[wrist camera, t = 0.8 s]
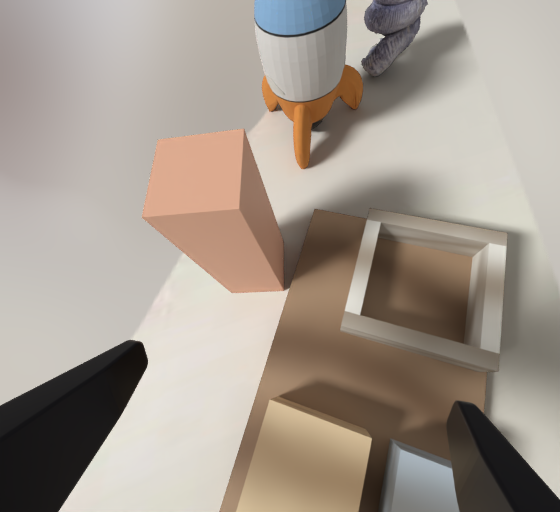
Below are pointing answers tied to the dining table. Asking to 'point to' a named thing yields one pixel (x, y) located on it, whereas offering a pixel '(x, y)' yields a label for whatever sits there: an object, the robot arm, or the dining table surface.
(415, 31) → the seashell
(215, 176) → the post
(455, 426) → the robot arm
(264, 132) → the dining table surface
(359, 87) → the toy rocket
